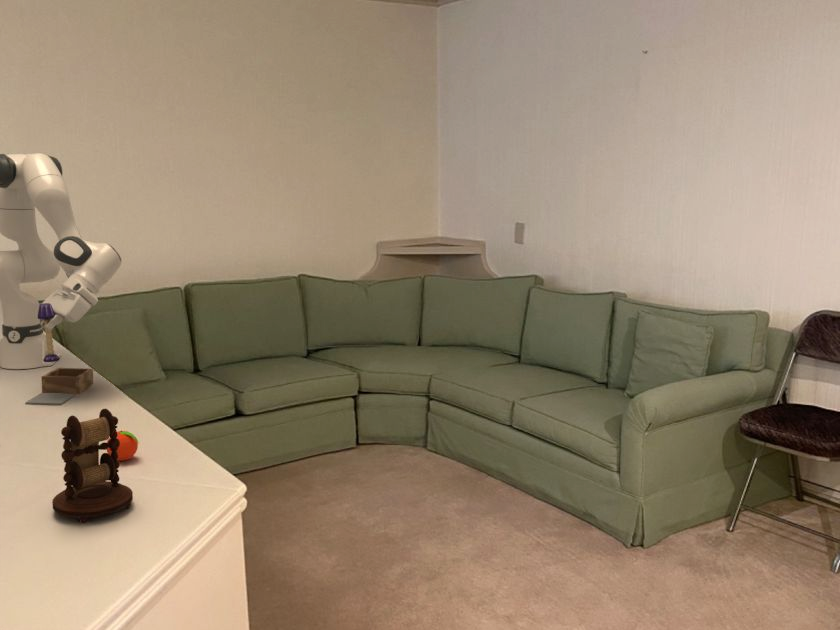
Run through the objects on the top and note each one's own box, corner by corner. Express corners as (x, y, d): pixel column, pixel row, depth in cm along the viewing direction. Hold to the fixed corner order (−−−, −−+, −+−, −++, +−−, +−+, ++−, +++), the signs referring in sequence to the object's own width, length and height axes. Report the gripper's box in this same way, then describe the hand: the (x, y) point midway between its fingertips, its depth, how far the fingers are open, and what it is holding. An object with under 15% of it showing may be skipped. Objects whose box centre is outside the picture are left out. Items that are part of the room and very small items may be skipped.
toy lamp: (54, 362, 223) (49, 304, 221) (38, 362, 223) (33, 305, 221) (62, 359, 228) (57, 302, 225) (46, 359, 228) (41, 302, 225)
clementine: (148, 457, 185) (147, 428, 184) (130, 467, 179) (129, 437, 177) (119, 453, 187) (118, 424, 186) (100, 463, 181) (99, 433, 179)
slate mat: (40, 394, 233) (40, 393, 232) (75, 395, 233) (75, 393, 233) (25, 404, 223) (25, 402, 223) (60, 405, 223) (60, 403, 223)
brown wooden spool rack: (108, 488, 167) (105, 397, 163) (147, 508, 158) (144, 412, 154) (39, 509, 155) (34, 412, 152) (76, 532, 146) (71, 429, 143)
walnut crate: (57, 383, 245) (57, 367, 244) (93, 384, 246) (92, 368, 245) (42, 392, 234) (41, 376, 234) (79, 393, 235) (78, 377, 234)
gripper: (56, 279, 234) (23, 315, 229) (84, 288, 220) (50, 325, 215) (72, 293, 238) (40, 328, 233) (100, 302, 224) (67, 339, 219)
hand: (45, 327), depth 224 cm, fingers closed on toy lamp
